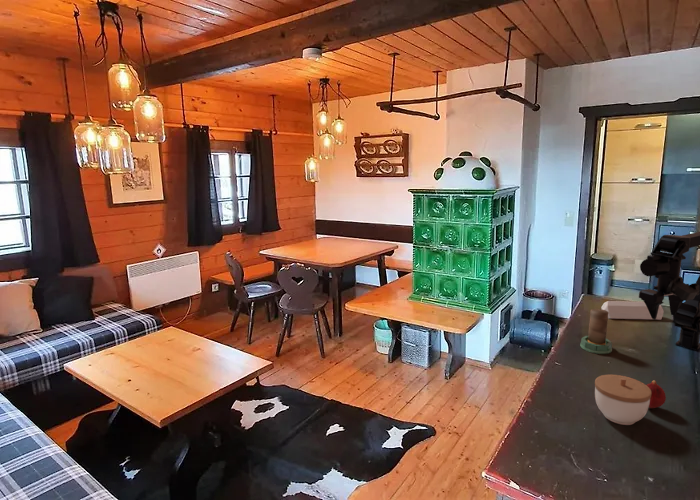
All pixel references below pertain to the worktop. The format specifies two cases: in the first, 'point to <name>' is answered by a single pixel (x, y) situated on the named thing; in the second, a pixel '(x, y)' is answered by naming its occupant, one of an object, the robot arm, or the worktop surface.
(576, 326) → the worktop surface
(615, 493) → the worktop surface
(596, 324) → the sleeve
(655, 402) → the onion
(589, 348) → the socket
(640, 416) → the lidded bowl
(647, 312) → the pale pink faceted bar
